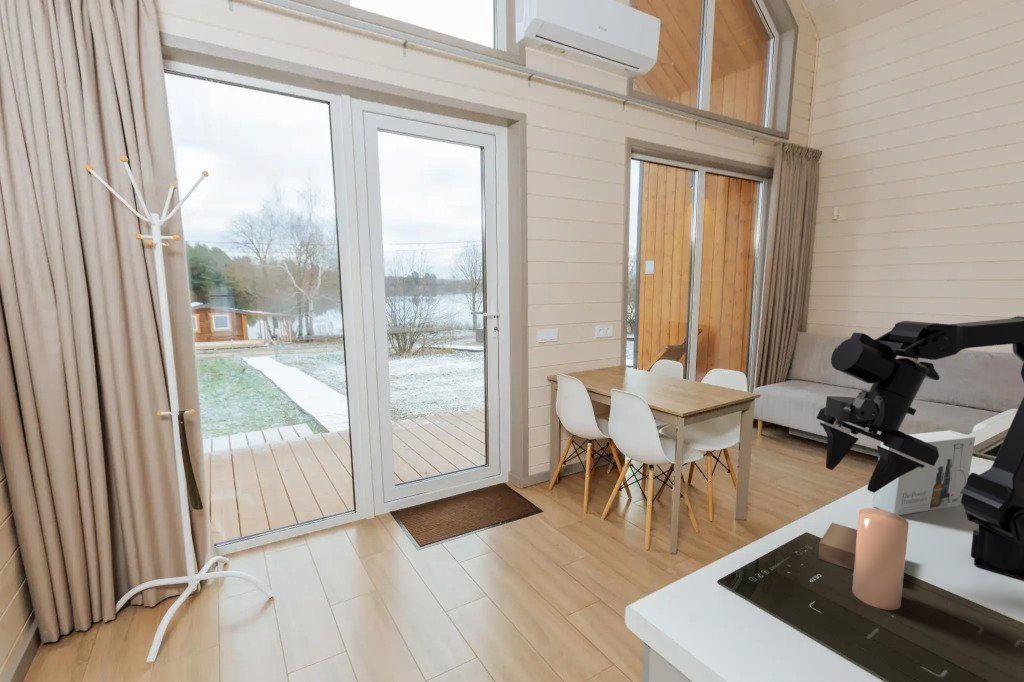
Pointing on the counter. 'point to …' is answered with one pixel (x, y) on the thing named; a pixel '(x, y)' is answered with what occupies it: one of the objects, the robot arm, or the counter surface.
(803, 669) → the counter surface
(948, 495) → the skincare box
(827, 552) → the podium
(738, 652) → the counter surface
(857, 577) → the canister
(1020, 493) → the robot arm
